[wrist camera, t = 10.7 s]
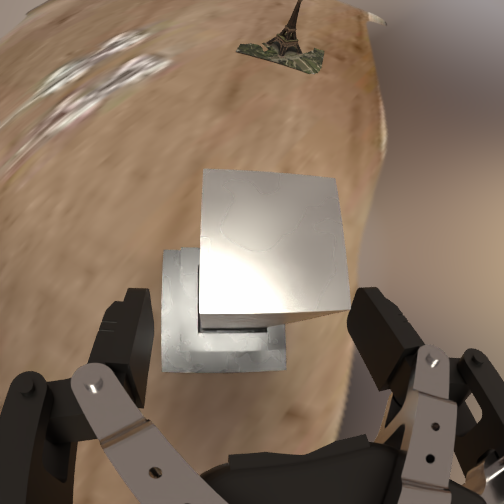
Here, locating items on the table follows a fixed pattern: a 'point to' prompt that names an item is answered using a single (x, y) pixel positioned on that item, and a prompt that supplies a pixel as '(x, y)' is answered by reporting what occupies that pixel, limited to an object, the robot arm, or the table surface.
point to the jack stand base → (208, 341)
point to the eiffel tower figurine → (287, 49)
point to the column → (270, 250)
